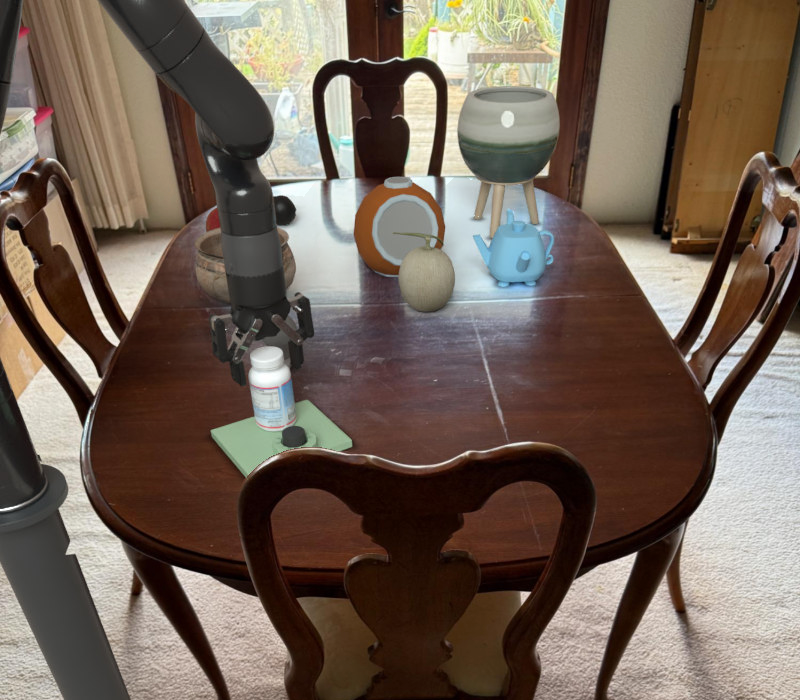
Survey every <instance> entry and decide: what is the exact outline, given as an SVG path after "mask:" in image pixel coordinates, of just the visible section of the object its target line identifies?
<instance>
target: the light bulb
mask: <svg viewBox="0 0 800 700" xmlns="http://www.w3.org/2000/svg"><path fill="white" fill-rule="evenodd" d="M285 322H286V323H287V324H288V325H289V326H290V327H291V328H292V329H294V330H295V331H296V330H297V329H298V327H297V324H296V322H295V320H294V319H293V318H292V317H291V316H290V315H289V314H288V316H287V318H286V320H285ZM261 341H262V342H263V343H264V345H266V346H273V347H278V348H280V349H281V350H282V351H283V356H284V364H286V365H287V366H288V368H289V369H290V370H291V369H292V368H291V367H292V365H291V362H290V354H289V345H288V341H290V339H289V338H288V337H287V336H286V335H285V334H284V333H283V332H282V331H281V330H280V332H279V333H277V336H273V337H266V338H264V339H262V340H261Z"/></svg>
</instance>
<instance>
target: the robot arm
mask: <svg viewBox="0 0 800 700" xmlns="http://www.w3.org/2000/svg"><path fill="white" fill-rule="evenodd" d="M97 1H98V3H99V4H100V6H101V7H102V8H103V9H104V11H105V12H106V13H107V15H108V17H109V18H110V19H111V20H112V21H113V23H114V24H115V25H116V26H117V27H118V29H119V30H120V31H121V32H122V34H123V35H124V37H125V38H126V40H128V42H129V43H130V44H131V45H132V47H133V48H134V49H135V51H136V52H137V53H138V54H139V55H140V56H141V58H142V59H143V60H144V62H145V63H146V64H147V65H148V67H149V68H150V69H151V70H152V71H153V72H154V74H155V75H156V76H157V77H158V79H159V80H160V81H161V82H162V83H163V84H164V85H165V86H166V87H167V88H168V89H170V90H171V91H172V92H174V93H175V94H177V95H178V96H180V97H181V98H182V99H183V100H184V101H185V102H186V103H187V104H188V105H189V107H190V108H191V109H192V111H194V119H195V120H194V122H195V132H196V137H197V142H198V144H199V148H200V151H201V154H202V158H203V160H204V164H205V167H206V170H207V173H208V176H209V179H210V181H211V184H212V187H213V191H214V195H215V202H216V208H217V210H218V216H219V223H220V228H221V247H222V254H223V260H224V267H225V273H226V279H227V285H228V291H229V297H230V302H231V305H230V311H229V313H227V314H222V315H217V314H216V313H212V314H210V315H209V316H208V323H209V331H210V339H211V347H212V354H213V356H215V358H217V360H218V361H220V362H221V363H222V364H225V363H229V369H230V375H231V378H232V380H233V381H234V382H235V383H236V384H237V385H239V386H240V387H246V386H248V383H247V377H246V376H247V375H246V371H245V363H244V361H242V359H243V357H244V355H245V353H246V351H248V350H249V349H250V348H251V346H252V344H253V342H254V341H256V342H259V341H263V340H262V339H264V338H266V337H273V336H277V333H279V332H280V330H281V331H282V332H283V333H284V334H285V335H286V336H287V337H288V338H289V339H290V341H288V345H289V354H290V365H291V367H292V368H293V369H295V371H298V370H302V365H304V363H305V357H304V356H305V355H304V342H305V341H306V340H308V339H312V338H313V337H314V336H315V328H314V321H313V313H312V307H311V301H310V299H309V298H308V297H307V296H305V295H304V294H303V293H301V292H299V291H297V292H295V293H294V295H293V296H292V297H289V298H287V290H286V284H285V276H284V267H283V252H282V250H281V242H280V238H279V234H278V230H277V227H278V226H277V223H276V215H275V206H274V198H273V196H274V193H273V189H272V185H271V183H270V181H269V180H268V178H267V177H266V176H265V175H264V174H263V172H262V170H261V168H260V166H259V161H258V159H259V158H261V157H262V156H264V155H265V154H266V153H267V152H268V151H269V150H270V148H271V146H272V144H273V141H274V137H275V123H274V118H273V116H272V113H271V110H270V108H269V106H268V104H267V103H266V101H265V99H264V98H263V97H262V95H261V94H260V92H259V91H258V90H257V89H256V88H255V86H254V85H253V84H252V83H251V82H250V81H249V79H247V77H245V76H246V75H244V74H243V73H242V72H241V71H240V69H238V67H237V66H236V65H235V64H234V63H233V62H232V61H231V60H230V59H229V58H228V57H227V56H226V55H225V53H223V52H222V51H221V49H220V48H218V46H217V45H216V44H215V43H214V41H213V40H212V38H211V36H210V35H209V33H208V32H207V30H206V29H205V27H203V25H202V23H201V22H200V20H199V19H198V18H197V16H196V15H195V13H194V12H193V11H192V9H191V8H190V7H189V5H188V4H187V2H186V1H185V0H97ZM23 2H24V0H0V135H1V134H2V130H3V126H4V122H5V118H6V113H7V109H8V103H9V99H10V98H9V97H10V93H11V89H12V82H13V77H14V72H15V63H16V58H17V57H16V56H17V49H18V42H19V36H20V28H21V22H22V21H21V20H22V13H23V4H24V3H23ZM291 310H293V311H294V312H295V313H296V318H297V325H298V328H297V330H296V331H295V330H294V329H292V328H291V327H290V326H289V325H288V324H287V323H286V322H285V320H286V318H287V316H288V315H289V314H290V312H291ZM231 324H232V325H234V326H235V328H234V330H233V333H232V335H231V340H230V342H229V345H228V343H227V341H228V340H227V334H226V333H228V332H229V330H230V326H231ZM42 462H43V461H42V458H41V455H40V454H38V453H37V451H36V448H35V444H34V442H33V440H32V437H31V434H30V432H29V429H28V427H27V424H26V421H25V419H24V416H23V414H22V411H21V408H20V406H19V403H18V400H17V398H16V394H15V392H14V390H13V387H12V385H11V382H10V380H9V376H8V374H7V371H6V369H5V367H4V363H3V361H2V358H1V357H0V514H7V513H12V512H16V511H19V510H22V509H24V508H27V507H29V506H31V505H33V504H34V503H36V502H37V501H39V500H40V499H41V498H42V497H43V496H44V495H45V494H46V492H47V490H48V487H49V482H48V480H47V477H46V475H45V474H44V470H43V468H42V466H41V464H42Z"/></svg>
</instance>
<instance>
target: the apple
mask: <svg viewBox="0 0 800 700" xmlns="http://www.w3.org/2000/svg"><path fill="white" fill-rule="evenodd" d="M217 228H220V223H219V216H218V210H217V207H215V208H214V209H212V210H211V211H210V212H209V213H208V215H207V216H206V220H205V233H206V232H208V231H210V230H213V229H217Z"/></svg>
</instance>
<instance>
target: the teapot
mask: <svg viewBox="0 0 800 700" xmlns="http://www.w3.org/2000/svg"><path fill="white" fill-rule="evenodd" d="M542 236H548V237H549V241H548V245H547V246H546V249H545V245H544V242H543V241H544V240H543V239H542ZM472 238H473V240H474V243H475V245H476V247H477V249H478V251H479V253H480V255H481V256H480V257H481V258H482V260H483V263H484V264H485V266H486V267H487V270H488V271H489V273H490V275H491V276H492V277H493V278H494V279H496V280H498V282H497V286H498V287H502V288H505V287H509V286H510V283H523V282H524V285H526V286H529V287H530V286H532V287H533V286H536V285H537V282H536V281H537V280H538V279H539V278H540V277H541V276H543V273H544V272H545V269H546V266H549V265H552V264H553V262H554V256H553V255H552V254H551V251H552V249H553V246H554V244H555V236H554V234H553V233H552V232H551V231H549V230H545V229H543V230H539V229H538V227H536V226H534V224H530V223H526V222H525V221H523V220H515V216H514V212H513V209H511V208H507V210H506V223H505V224H500V226H499V227H498V228H497V230H496V232H495V234H494V236H493V238H491V241H490V243H489V245H488V246H487V244H486V243H485V241H484V240H483V238H482V236H481V234H473V235H472ZM548 258H549V259H548Z"/></svg>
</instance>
